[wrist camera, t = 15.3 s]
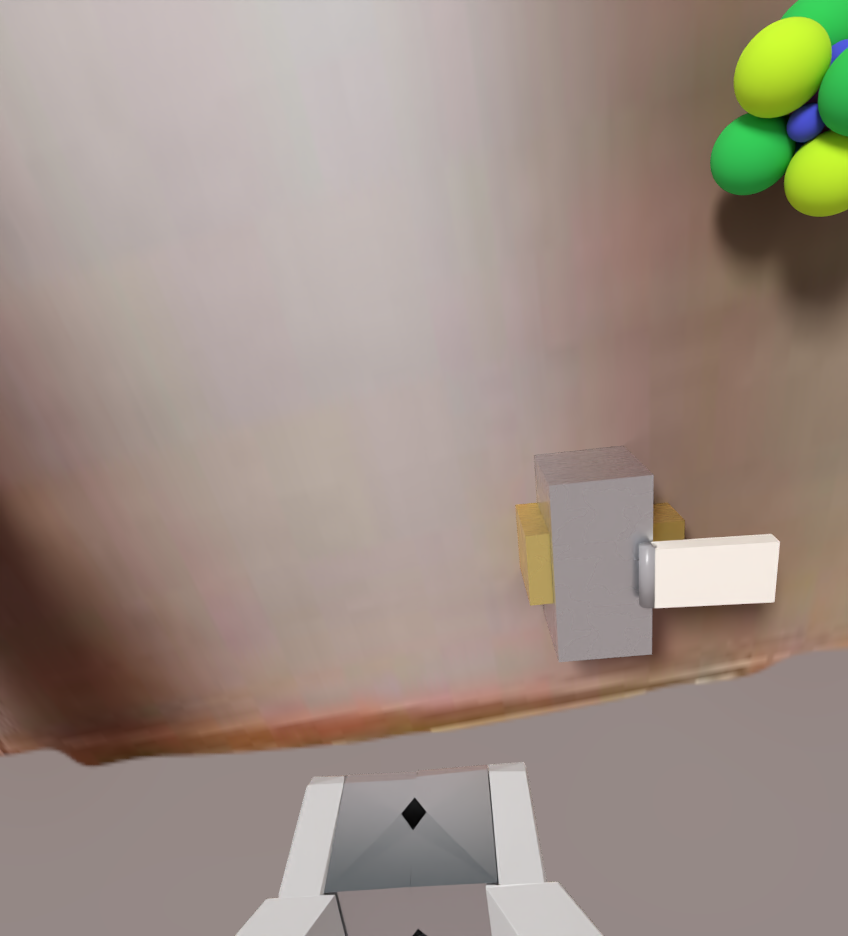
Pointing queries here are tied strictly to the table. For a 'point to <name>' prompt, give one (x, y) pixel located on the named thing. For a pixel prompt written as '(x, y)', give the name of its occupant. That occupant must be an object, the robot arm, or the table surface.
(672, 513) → the lynch pin
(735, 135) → the molecule model
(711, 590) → the bar
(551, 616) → the block
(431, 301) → the table surface
